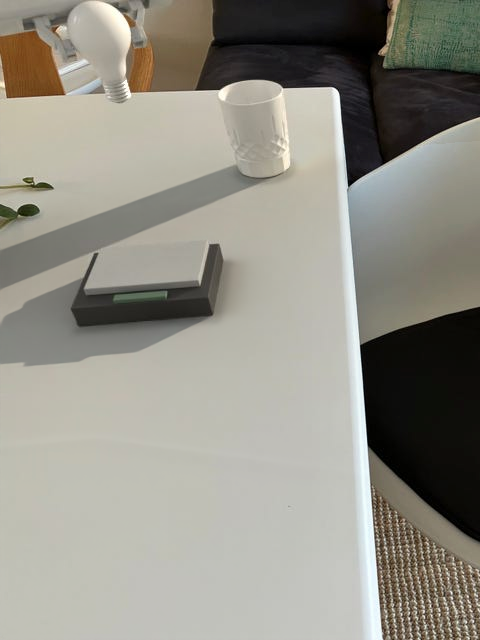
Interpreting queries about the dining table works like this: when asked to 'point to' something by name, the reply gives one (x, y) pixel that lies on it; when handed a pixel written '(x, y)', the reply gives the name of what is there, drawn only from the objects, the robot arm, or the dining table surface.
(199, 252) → the scale
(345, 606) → the dining table surface
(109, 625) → the dining table surface
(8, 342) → the dining table surface
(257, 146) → the white cup
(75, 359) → the dining table surface
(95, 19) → the lightbulb
